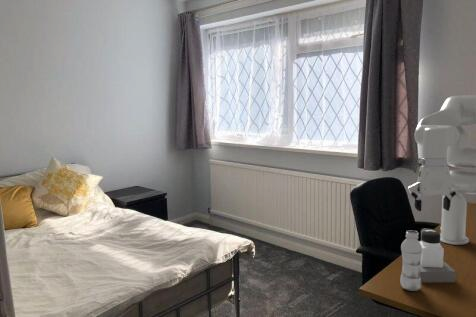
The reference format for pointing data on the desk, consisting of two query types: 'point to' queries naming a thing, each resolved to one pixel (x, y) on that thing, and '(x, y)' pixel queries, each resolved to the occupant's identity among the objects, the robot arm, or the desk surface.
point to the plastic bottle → (411, 262)
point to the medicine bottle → (431, 250)
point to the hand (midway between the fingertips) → (432, 209)
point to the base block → (437, 274)
